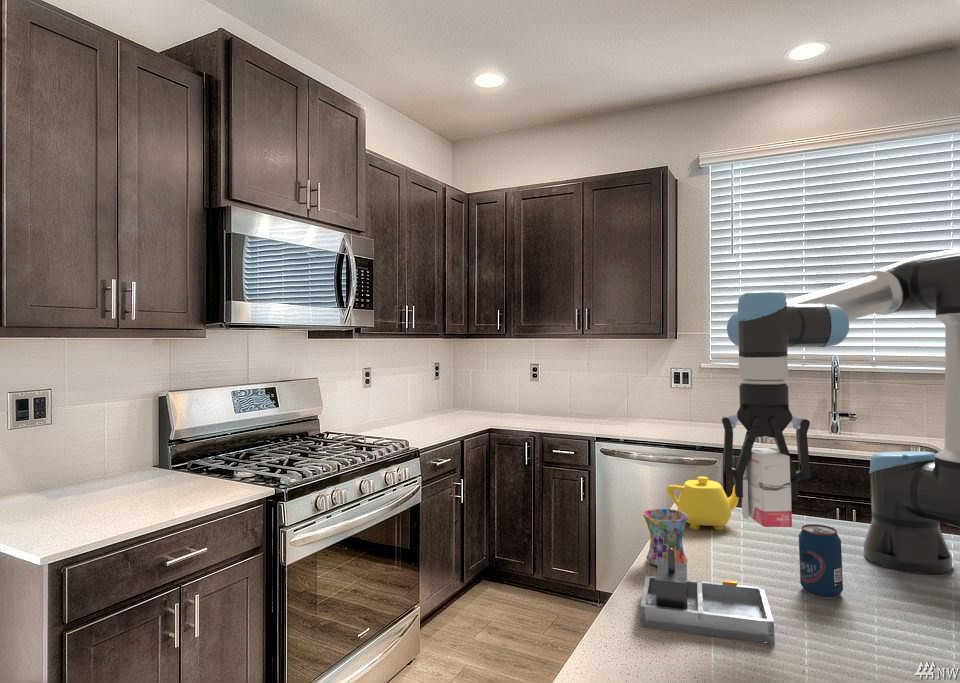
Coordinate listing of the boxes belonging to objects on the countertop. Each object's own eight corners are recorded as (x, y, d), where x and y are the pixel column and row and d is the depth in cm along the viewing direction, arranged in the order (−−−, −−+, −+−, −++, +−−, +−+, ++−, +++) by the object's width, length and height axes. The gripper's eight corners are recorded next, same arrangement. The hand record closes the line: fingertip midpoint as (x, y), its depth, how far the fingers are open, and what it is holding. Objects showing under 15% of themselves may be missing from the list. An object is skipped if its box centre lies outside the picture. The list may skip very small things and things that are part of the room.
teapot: (755, 534, 142) (753, 483, 142) (671, 531, 146) (669, 482, 146) (741, 518, 155) (739, 472, 156) (664, 516, 159) (662, 471, 159)
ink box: (793, 528, 94) (792, 455, 94) (762, 528, 94) (761, 455, 94) (770, 513, 102) (769, 446, 102) (742, 512, 103) (740, 446, 103)
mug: (688, 573, 119) (686, 522, 119) (642, 568, 123) (640, 518, 123) (691, 554, 130) (689, 507, 130) (648, 549, 134) (647, 503, 134)
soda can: (792, 589, 110) (789, 526, 110) (817, 582, 113) (814, 521, 113) (826, 603, 104) (824, 536, 104) (851, 595, 107) (849, 531, 107)
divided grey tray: (764, 605, 104) (761, 542, 104) (774, 644, 91) (772, 571, 91) (646, 592, 111) (644, 533, 111) (640, 626, 98) (638, 559, 98)
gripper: (820, 381, 99) (824, 516, 99) (703, 380, 105) (706, 507, 105) (831, 383, 92) (835, 529, 91) (705, 383, 98) (708, 519, 98)
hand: (766, 517), depth 98 cm, fingers closed on ink box, 6 cm apart
